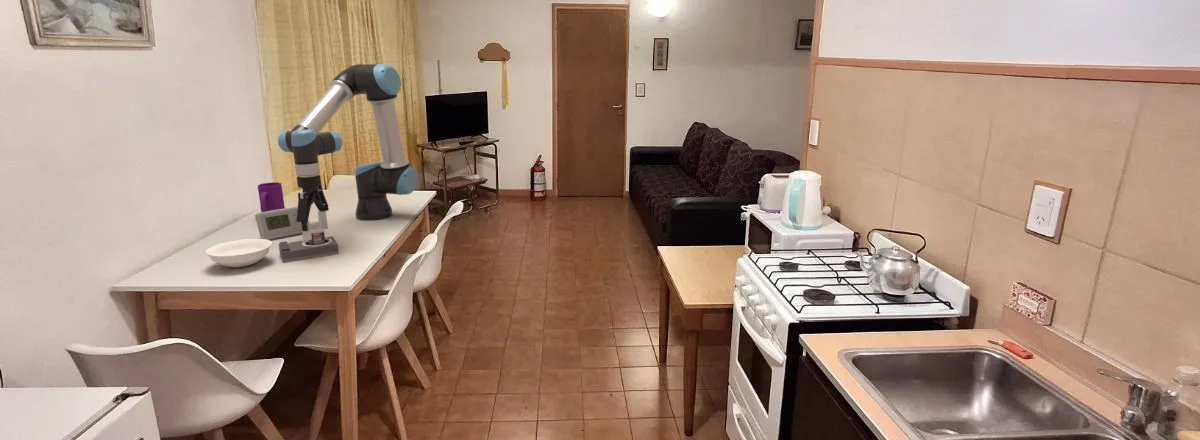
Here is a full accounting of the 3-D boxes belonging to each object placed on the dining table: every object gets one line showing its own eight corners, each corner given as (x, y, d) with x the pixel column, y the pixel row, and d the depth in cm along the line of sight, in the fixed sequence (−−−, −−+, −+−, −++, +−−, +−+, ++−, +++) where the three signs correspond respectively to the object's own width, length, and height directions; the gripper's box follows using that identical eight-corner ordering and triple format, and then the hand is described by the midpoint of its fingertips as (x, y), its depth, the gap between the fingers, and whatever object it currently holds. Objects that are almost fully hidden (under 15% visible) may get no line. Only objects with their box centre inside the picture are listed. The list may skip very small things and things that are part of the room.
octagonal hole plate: (333, 245, 236) (332, 234, 235) (338, 253, 226) (337, 242, 225) (279, 253, 227) (278, 241, 226) (282, 262, 217) (281, 250, 216)
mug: (289, 215, 281) (284, 181, 277) (276, 224, 266) (271, 189, 262) (267, 216, 279) (262, 182, 276) (253, 225, 265) (247, 190, 261)
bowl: (204, 278, 203) (200, 259, 201) (212, 260, 220) (209, 242, 219) (273, 269, 210) (270, 251, 209) (276, 252, 228) (273, 235, 226)
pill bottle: (316, 252, 224) (312, 225, 222) (306, 250, 227) (302, 223, 224) (329, 248, 229) (326, 221, 226) (319, 246, 231) (316, 220, 229)
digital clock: (259, 242, 240) (255, 215, 238) (258, 237, 248) (253, 210, 245) (306, 236, 248) (302, 209, 246) (303, 230, 256) (299, 205, 253)
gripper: (312, 168, 233) (320, 224, 238) (280, 182, 209) (289, 244, 214) (333, 168, 233) (340, 224, 238) (303, 182, 209) (311, 244, 214)
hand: (316, 234), depth 226 cm, fingers open, 13 cm apart
